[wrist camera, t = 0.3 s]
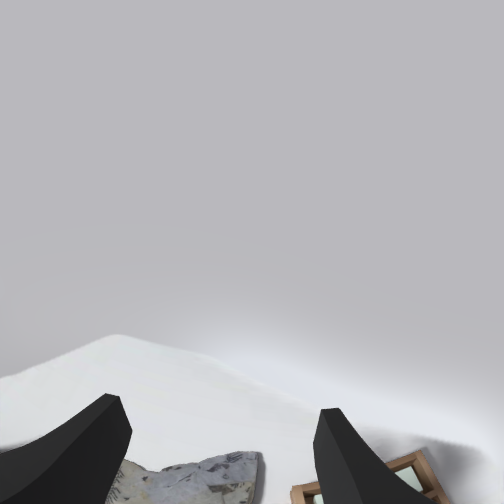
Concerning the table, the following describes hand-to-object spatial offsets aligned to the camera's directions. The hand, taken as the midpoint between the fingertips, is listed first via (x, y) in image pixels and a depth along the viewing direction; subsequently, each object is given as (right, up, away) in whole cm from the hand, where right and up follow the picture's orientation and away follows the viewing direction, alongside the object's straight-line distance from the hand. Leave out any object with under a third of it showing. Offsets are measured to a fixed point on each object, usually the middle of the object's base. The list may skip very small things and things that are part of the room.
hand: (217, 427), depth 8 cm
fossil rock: (-7, -19, +10) cm, 23 cm away
